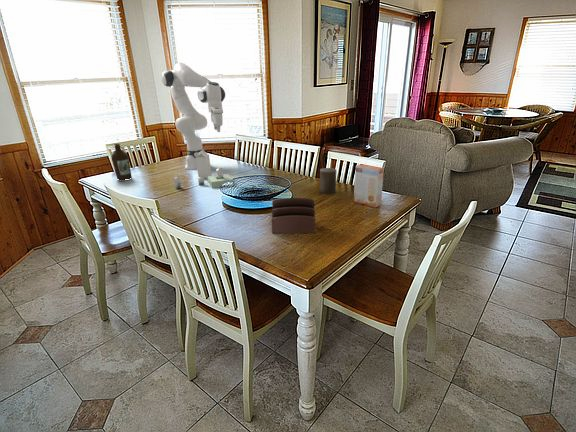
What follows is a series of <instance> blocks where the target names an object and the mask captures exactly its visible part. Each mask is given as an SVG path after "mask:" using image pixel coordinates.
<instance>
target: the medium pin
mask: <svg viewBox="0 0 576 432" xmlns="http://www.w3.org/2000/svg"><path fill="white" fill-rule="evenodd" d="M173 180H174V181H173V182H174V188H175V189H176V190H178V189H182V184H181V177H180V176H174V177H173Z"/></svg>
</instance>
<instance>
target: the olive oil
mask: <svg viewBox="0 0 576 432" xmlns="http://www.w3.org/2000/svg"><path fill="white" fill-rule="evenodd" d="M111 162H112V166H113V169H114V172H115V176H116V179H119V180H125V179H130V178H132V179H133V175H132V170H131V165H130V164H131V163H130V158H129V155H128V153H127V152H126V151H124V150H122V147H121V145H120V142H119V143H114V152H112V154H111Z"/></svg>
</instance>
